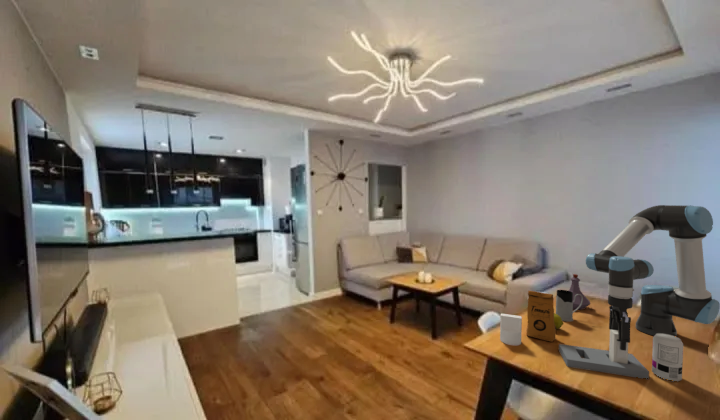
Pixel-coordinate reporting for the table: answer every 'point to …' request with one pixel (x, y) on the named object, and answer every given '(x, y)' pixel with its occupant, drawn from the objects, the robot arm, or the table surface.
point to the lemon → (558, 321)
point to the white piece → (510, 329)
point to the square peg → (613, 348)
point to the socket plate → (601, 361)
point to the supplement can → (667, 356)
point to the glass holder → (565, 304)
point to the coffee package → (541, 316)
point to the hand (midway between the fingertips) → (618, 353)
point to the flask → (576, 290)
